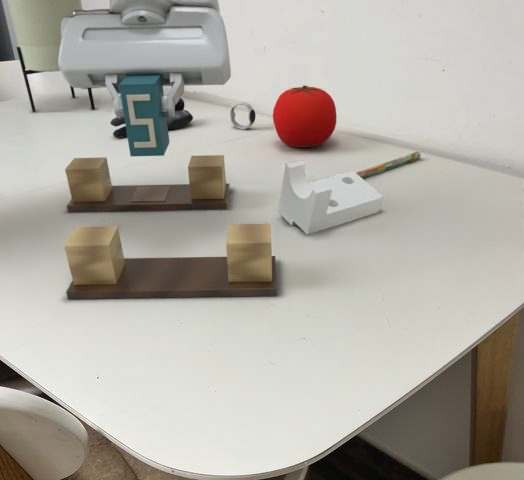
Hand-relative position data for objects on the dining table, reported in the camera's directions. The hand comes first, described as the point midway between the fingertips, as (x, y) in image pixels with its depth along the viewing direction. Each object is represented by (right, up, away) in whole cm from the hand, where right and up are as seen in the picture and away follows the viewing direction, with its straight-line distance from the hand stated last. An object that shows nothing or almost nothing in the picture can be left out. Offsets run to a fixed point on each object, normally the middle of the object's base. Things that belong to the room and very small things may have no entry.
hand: (144, 115), depth 67 cm
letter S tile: (0, -3, +3) cm, 4 cm away
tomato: (+22, +11, +42) cm, 49 cm away
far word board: (-3, -4, +22) cm, 22 cm away
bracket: (+24, -9, +15) cm, 30 cm away
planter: (-33, +31, +70) cm, 84 cm away
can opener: (-9, +18, +52) cm, 56 cm away
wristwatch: (+10, +18, +52) cm, 56 cm away
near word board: (+3, -19, +1) cm, 20 cm away
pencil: (+34, +3, +30) cm, 46 cm away
